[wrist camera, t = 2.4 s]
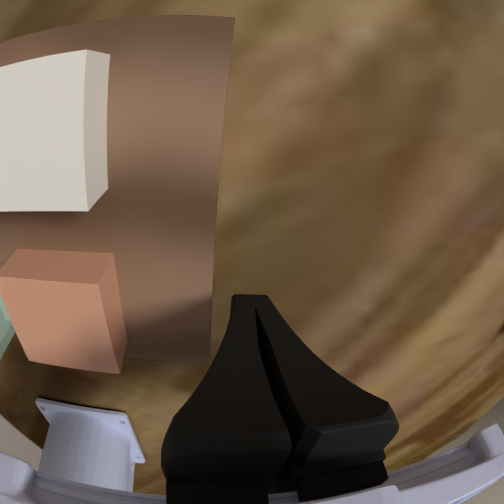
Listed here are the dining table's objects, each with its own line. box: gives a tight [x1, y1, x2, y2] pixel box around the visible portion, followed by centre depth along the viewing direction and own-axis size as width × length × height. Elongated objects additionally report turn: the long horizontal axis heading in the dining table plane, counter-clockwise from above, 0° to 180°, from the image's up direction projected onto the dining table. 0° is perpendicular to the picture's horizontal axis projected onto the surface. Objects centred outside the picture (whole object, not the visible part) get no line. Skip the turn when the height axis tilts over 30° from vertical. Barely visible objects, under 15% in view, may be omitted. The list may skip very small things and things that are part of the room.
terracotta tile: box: [0, 249, 128, 374], centre depth 11 cm, size 4×4×2 cm
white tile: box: [0, 50, 110, 212], centre depth 8 cm, size 4×4×2 cm
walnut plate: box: [0, 15, 235, 363], centre depth 11 cm, size 14×10×2 cm
